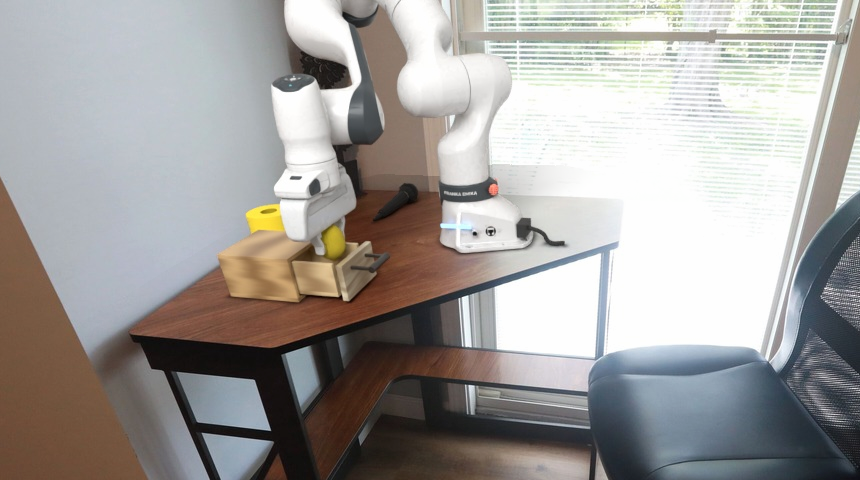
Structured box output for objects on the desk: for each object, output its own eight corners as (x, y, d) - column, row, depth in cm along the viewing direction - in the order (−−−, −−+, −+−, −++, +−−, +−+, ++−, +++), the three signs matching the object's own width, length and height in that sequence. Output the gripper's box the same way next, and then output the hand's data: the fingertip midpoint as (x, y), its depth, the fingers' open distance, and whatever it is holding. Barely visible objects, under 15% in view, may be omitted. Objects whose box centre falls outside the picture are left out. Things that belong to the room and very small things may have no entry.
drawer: (399, 276, 118) (394, 242, 114) (373, 303, 108) (366, 268, 104) (315, 269, 122) (307, 237, 118) (282, 295, 112) (272, 261, 108)
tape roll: (285, 259, 130) (274, 219, 125) (248, 256, 133) (236, 217, 127) (309, 243, 138) (299, 205, 133) (274, 240, 141) (263, 203, 135)
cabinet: (333, 273, 123) (323, 233, 118) (298, 302, 112) (286, 259, 107) (270, 268, 126) (258, 229, 121) (230, 296, 115) (216, 254, 110)
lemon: (353, 256, 114) (345, 218, 110) (341, 267, 110) (332, 228, 105) (328, 255, 115) (319, 217, 111) (315, 266, 111) (305, 227, 106)
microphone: (382, 233, 150) (420, 201, 164) (383, 214, 146) (422, 183, 160) (364, 225, 151) (404, 194, 165) (365, 206, 147) (405, 176, 161)
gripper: (327, 159, 112) (342, 227, 120) (267, 191, 96) (288, 266, 103) (356, 160, 111) (369, 228, 118) (300, 192, 94) (319, 269, 102)
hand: (331, 246), depth 111 cm, fingers closed on lemon, 5 cm apart
